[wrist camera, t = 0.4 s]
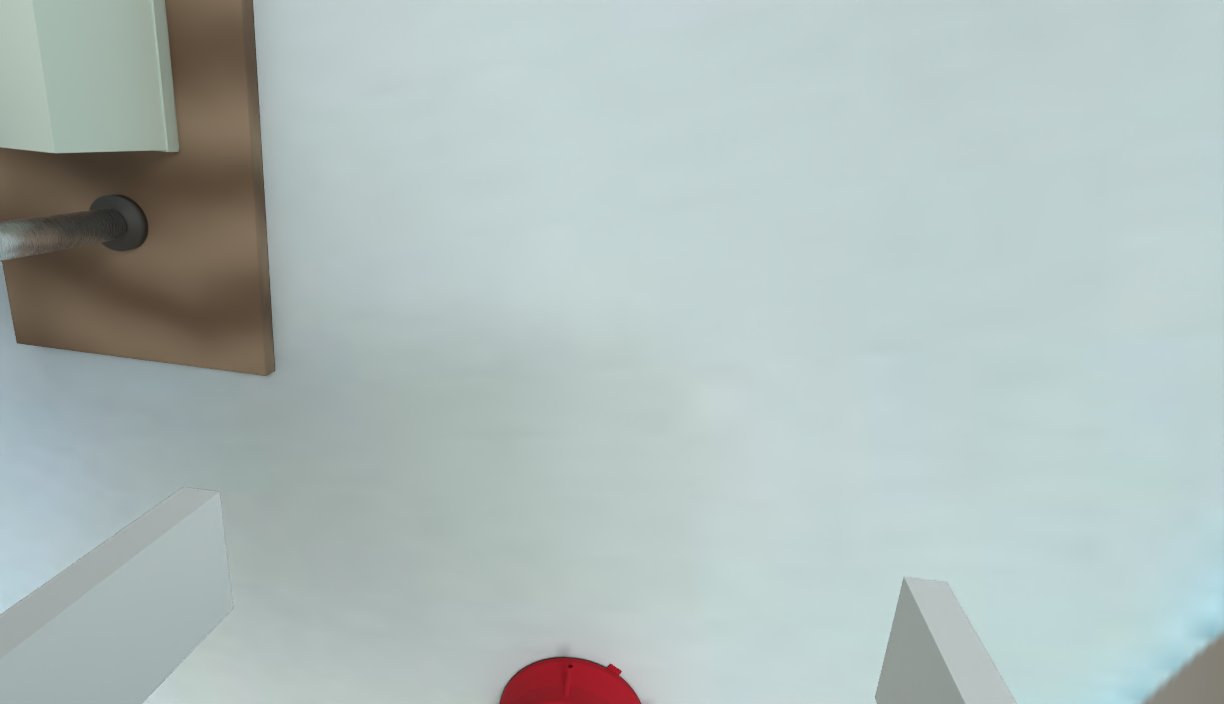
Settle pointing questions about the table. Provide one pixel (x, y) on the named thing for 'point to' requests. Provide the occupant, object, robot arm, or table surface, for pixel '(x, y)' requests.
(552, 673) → the alarm clock
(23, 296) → the board
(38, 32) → the pale green block
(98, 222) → the grey t-shaped stand
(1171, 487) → the table surface
